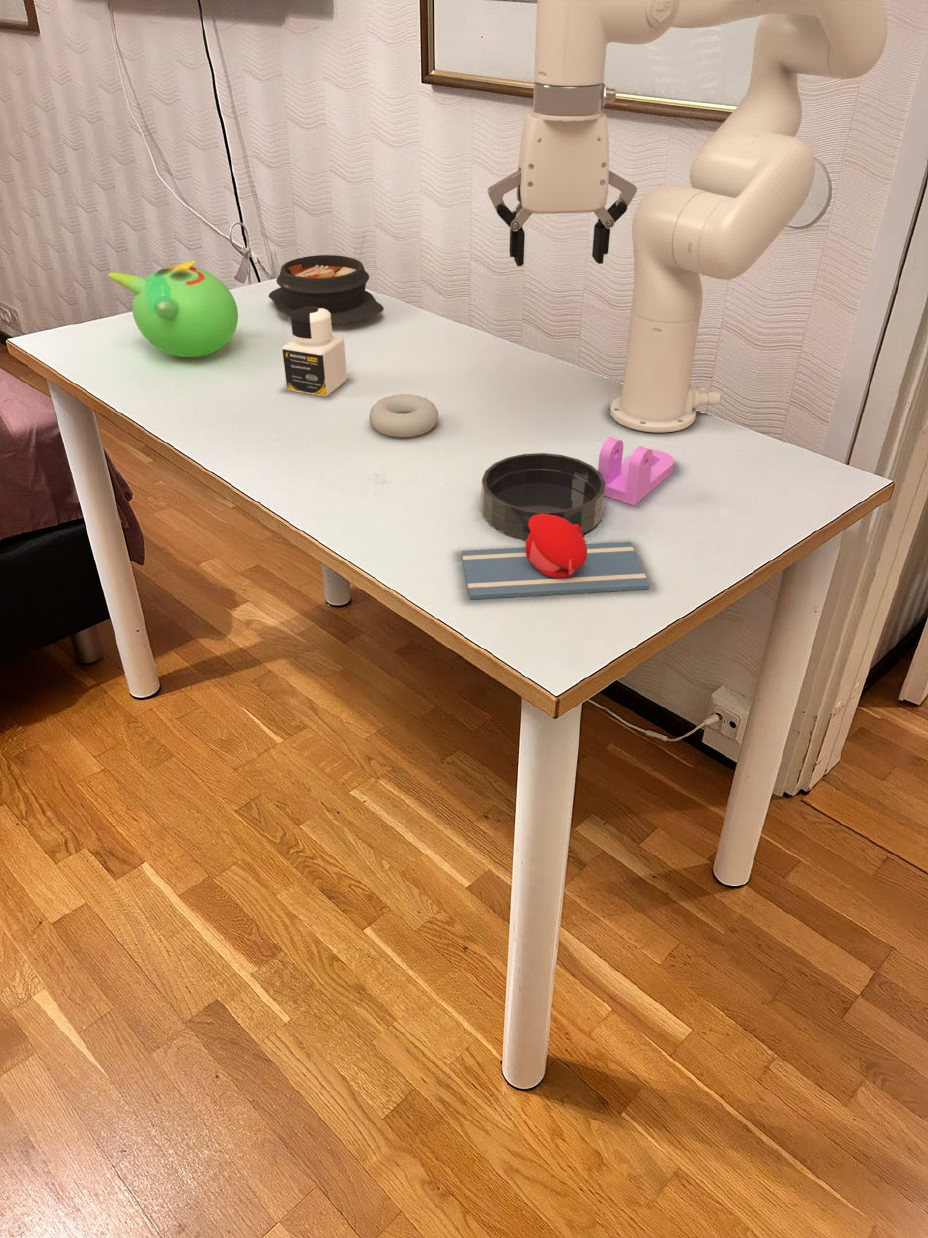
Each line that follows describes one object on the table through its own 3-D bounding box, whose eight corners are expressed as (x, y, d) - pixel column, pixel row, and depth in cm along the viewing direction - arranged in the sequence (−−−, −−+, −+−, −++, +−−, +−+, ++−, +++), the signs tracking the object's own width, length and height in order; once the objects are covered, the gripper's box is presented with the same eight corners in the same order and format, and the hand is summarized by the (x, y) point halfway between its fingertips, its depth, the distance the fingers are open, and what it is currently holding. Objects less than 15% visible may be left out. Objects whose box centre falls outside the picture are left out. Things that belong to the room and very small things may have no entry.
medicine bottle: (286, 390, 147) (277, 314, 140) (309, 374, 152) (301, 300, 145) (326, 397, 145) (319, 321, 137) (348, 380, 150) (342, 305, 143)
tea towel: (629, 545, 111) (629, 540, 110) (648, 589, 104) (649, 584, 103) (461, 554, 109) (461, 549, 109) (469, 599, 102) (469, 594, 102)
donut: (362, 439, 134) (430, 444, 132) (359, 416, 132) (428, 421, 130) (380, 409, 141) (445, 414, 140) (379, 388, 139) (444, 392, 138)
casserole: (246, 307, 178) (240, 262, 173) (324, 285, 188) (320, 242, 183) (327, 341, 163) (323, 293, 158) (407, 316, 174) (405, 269, 169)
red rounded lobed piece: (598, 568, 106) (603, 522, 102) (566, 590, 102) (569, 544, 99) (544, 542, 110) (546, 497, 107) (510, 563, 107) (512, 517, 103)
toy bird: (262, 352, 160) (250, 263, 151) (179, 381, 150) (161, 288, 141) (199, 327, 169) (184, 243, 160) (116, 353, 159) (96, 265, 150)
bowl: (588, 479, 124) (591, 450, 121) (614, 539, 112) (617, 509, 109) (475, 484, 123) (476, 455, 120) (489, 546, 111) (490, 515, 108)
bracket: (634, 505, 118) (640, 455, 114) (595, 492, 121) (600, 443, 117) (679, 466, 127) (687, 418, 123) (642, 454, 129) (648, 407, 125)
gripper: (636, 94, 106) (621, 250, 116) (485, 96, 105) (483, 254, 115) (653, 105, 100) (636, 268, 111) (493, 108, 99) (490, 273, 109)
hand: (558, 261), depth 113 cm, fingers open, 9 cm apart
